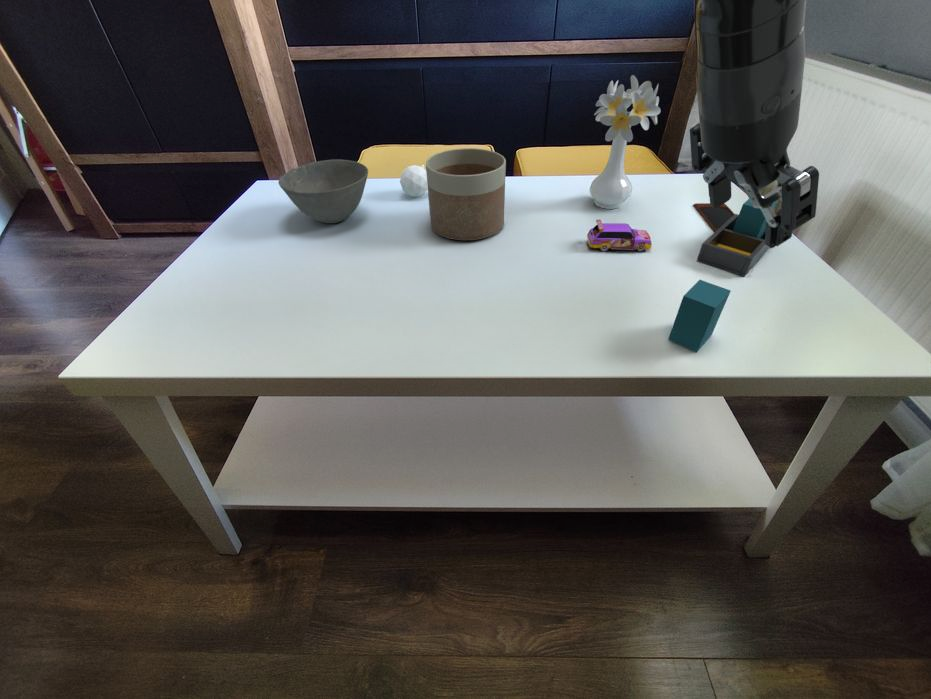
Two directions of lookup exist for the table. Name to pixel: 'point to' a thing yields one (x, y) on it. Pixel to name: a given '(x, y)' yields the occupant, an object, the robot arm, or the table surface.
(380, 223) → the table surface
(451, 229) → the planter
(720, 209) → the smartphone
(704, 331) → the teal block
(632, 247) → the toy car
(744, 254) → the dark grey open box
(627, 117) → the flower vase
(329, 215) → the bowl
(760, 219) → the teal cuboid
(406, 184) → the ornament
